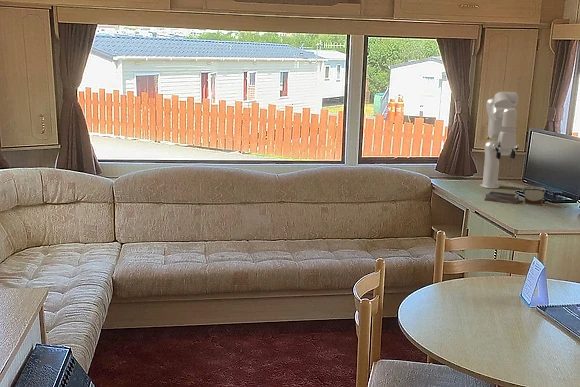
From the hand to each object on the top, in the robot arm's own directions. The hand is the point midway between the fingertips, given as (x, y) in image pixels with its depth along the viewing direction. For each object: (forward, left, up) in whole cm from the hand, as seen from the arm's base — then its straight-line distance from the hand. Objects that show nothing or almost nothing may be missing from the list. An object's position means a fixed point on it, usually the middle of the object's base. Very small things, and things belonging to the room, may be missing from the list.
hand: (505, 158), depth 337 cm
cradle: (-3, 0, -26) cm, 27 cm away
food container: (-5, +17, -27) cm, 32 cm away
